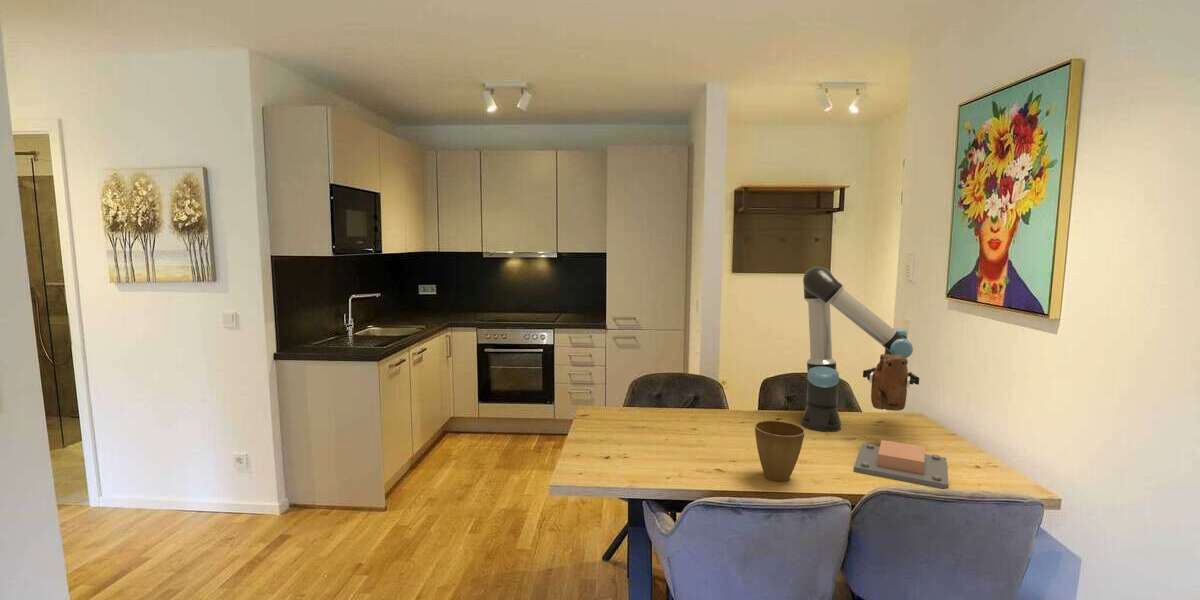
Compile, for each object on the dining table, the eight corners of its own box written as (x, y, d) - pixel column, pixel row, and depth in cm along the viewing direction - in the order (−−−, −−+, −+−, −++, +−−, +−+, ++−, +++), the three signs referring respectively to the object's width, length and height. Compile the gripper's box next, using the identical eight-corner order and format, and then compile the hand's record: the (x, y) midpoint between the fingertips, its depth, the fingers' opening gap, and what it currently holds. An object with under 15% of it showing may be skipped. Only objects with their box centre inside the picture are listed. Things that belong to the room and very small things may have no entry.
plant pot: (750, 482, 170) (752, 431, 169) (755, 465, 184) (757, 418, 183) (802, 490, 165) (804, 438, 164) (803, 472, 179) (805, 423, 178)
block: (895, 406, 209) (899, 353, 207) (907, 412, 202) (911, 357, 200) (867, 405, 209) (871, 353, 207) (878, 411, 201) (882, 357, 199)
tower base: (853, 471, 180) (854, 454, 180) (861, 447, 202) (862, 432, 202) (948, 489, 167) (949, 471, 167) (945, 461, 189) (946, 446, 189)
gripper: (926, 384, 214) (926, 396, 195) (858, 375, 226) (852, 386, 207) (928, 365, 214) (928, 375, 195) (860, 357, 225) (854, 366, 207)
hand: (889, 381), depth 201 cm, fingers closed on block, 11 cm apart
